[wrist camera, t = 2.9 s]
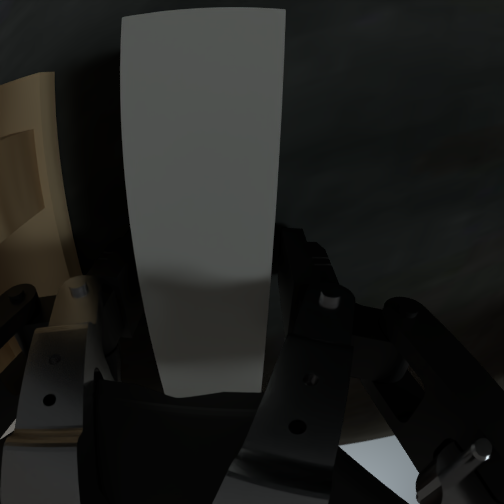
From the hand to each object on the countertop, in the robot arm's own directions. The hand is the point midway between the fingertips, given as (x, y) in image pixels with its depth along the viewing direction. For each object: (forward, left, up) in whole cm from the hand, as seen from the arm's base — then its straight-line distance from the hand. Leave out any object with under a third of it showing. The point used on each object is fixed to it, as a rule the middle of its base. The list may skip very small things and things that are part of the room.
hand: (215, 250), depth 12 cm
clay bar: (0, 0, -1) cm, 1 cm away
